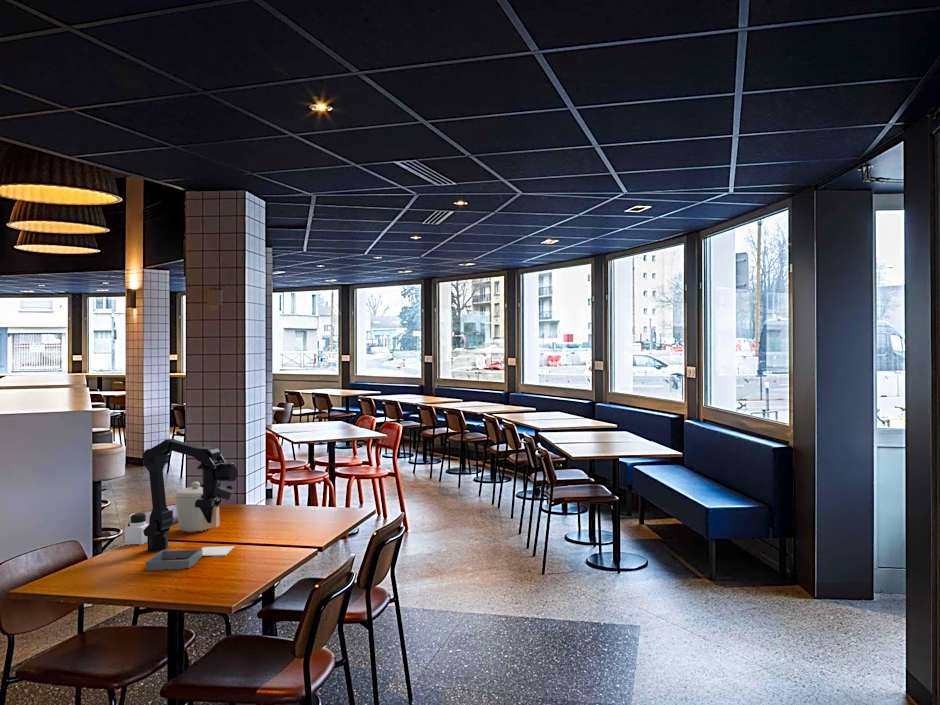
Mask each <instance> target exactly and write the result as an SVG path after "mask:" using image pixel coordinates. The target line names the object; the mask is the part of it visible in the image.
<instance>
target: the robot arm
mask: <svg viewBox="0 0 940 705" xmlns="http://www.w3.org/2000/svg"><path fill="white" fill-rule="evenodd" d="M171 452H176V453H178V454H182V455H186V456H189V457H192V458H194V459H195V460H196V461H197V462H199V463H200V464H199V465H198V466H196V469H197V470H201V472H202V474H201V475H202V476H201V477H202V478H201V482H202V483H200V487H203V495H201V498H199V499H198V500H197V501H196V502H195V507H199V508H200V509H201V511H202V513H203V515H204V517H205V518H206V520H207V522H208V523H211V519H212V511H213V508H214V507H219V505H220V504H221V503H222V502H223V501H224V499H225V500H226V501H230V500H232V498H233V496H234V494H235V489H234V485H231V484H228V485H227V486H222V484H221V482H235V481H236V480H237V479H238V478H237V477H238V472H239V471H238V470H237V467H236V466H235V463H234V462H230V463H227V461H226V459H225V458H224V456H223V455H222V454H221V451H220V448H218V447H216V446H198V445H195V444H191V443H189V442H188V443H187V442H184V441H181V440H178V439H176V438H169V439H168V438H166V439H164V440H162V442H160V443H158V444H157V445H155V446H152V447H151V448H148V449H145V451H144V452H142V461H143V465H144V467H145V468H146V470H147V471H148V473H149V474H148V476H149V485H150V494H151V496H150V497H151V504H152V505H151V506H152V510H151V512H150V514H149V518H148V519H149V520H148V521H149V522H148V524H149V525H148V526H147V527H146V528H145V529H144V530H143V532H144V536H147V543H146V544H147V549H146V550H145V552H160V551H163V550H167V548H169V536H167V533H169V532H170V529H171V528H172V525H173V524H174V522H173V521H175V519H174V512H173V509H169V508H168V506H167V498H166V491H165V490H166V488H165V478H164V467H165V465H166V463H167V456H168V455H169V454H171ZM221 499H222V500H221Z"/></svg>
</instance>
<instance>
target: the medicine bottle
mask: <svg viewBox="0 0 940 705" xmlns="http://www.w3.org/2000/svg"><path fill="white" fill-rule="evenodd" d="M128 518H129V526H125V527H124V545H125V546H130V545H129V544H139V545H138V546H143V545H144V543H145V544H148V543H147V536H144V532H143V530H144V529H145V528H146V527H147V526H148V525H149V523H147V515H146V513H144V512H135V513H134V512H133V513H131V514H130V515H129V517H128ZM126 544H127V545H126ZM142 544H143V545H142Z"/></svg>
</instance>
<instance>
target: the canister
mask: <svg viewBox="0 0 940 705" xmlns="http://www.w3.org/2000/svg"><path fill="white" fill-rule="evenodd" d="M190 486H191V487H185V488H180V489H178V490H177V491H176V492H174V493H173V494H172V495H173V497H174V498H175V499H174V500H175V506H176V515H177V520H178V527H179V529H180V530H181V532H184V531H187V532H186V533H195V532H194V531H201V532H204V531H203V530H205V531H207V529H208V530H210V529H209V528H203V513H202V511H201V509H200V508H199V507H195V502H196V501H197V500H198V499H199V498H201V495H203V487H201V483H200V482H199V481H193V482H192V483H191V484H190Z"/></svg>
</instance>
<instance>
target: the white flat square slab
mask: <svg viewBox="0 0 940 705" xmlns="http://www.w3.org/2000/svg"><path fill="white" fill-rule="evenodd" d="M233 548H234V549H235V545H232V546H231V545H229V546H224V545H223V546H202V548H201V549H202V556H212V557H226V556H227V554H228V553H229V552H230V551H231V550H232V549H233ZM234 549H233V550H234ZM233 550H232V551H233ZM232 551H231V552H232ZM231 552H230V553H231ZM230 553H229V554H230Z"/></svg>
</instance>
